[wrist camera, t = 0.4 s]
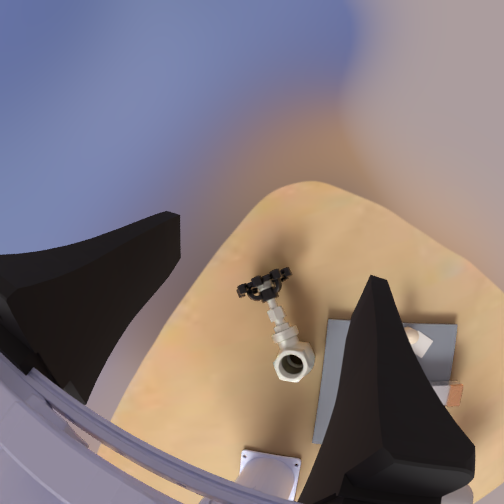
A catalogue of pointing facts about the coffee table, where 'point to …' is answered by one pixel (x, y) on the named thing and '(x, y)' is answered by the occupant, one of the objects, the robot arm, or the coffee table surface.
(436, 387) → the silver lidded pan
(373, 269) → the coffee table surface
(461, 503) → the lightbulb
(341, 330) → the board
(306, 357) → the valve
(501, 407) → the coffee table surface
